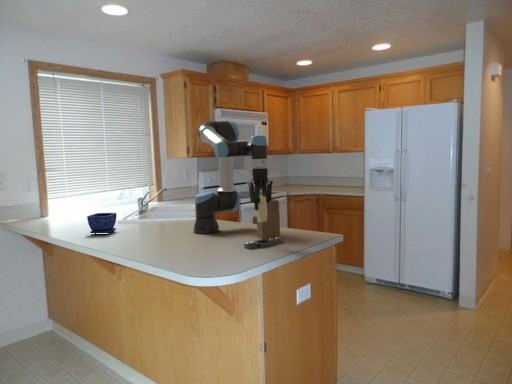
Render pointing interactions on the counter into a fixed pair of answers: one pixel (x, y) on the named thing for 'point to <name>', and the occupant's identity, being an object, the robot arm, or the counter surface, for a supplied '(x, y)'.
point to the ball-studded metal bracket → (263, 243)
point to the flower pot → (102, 222)
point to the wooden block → (270, 222)
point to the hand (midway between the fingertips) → (261, 216)
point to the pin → (262, 210)
